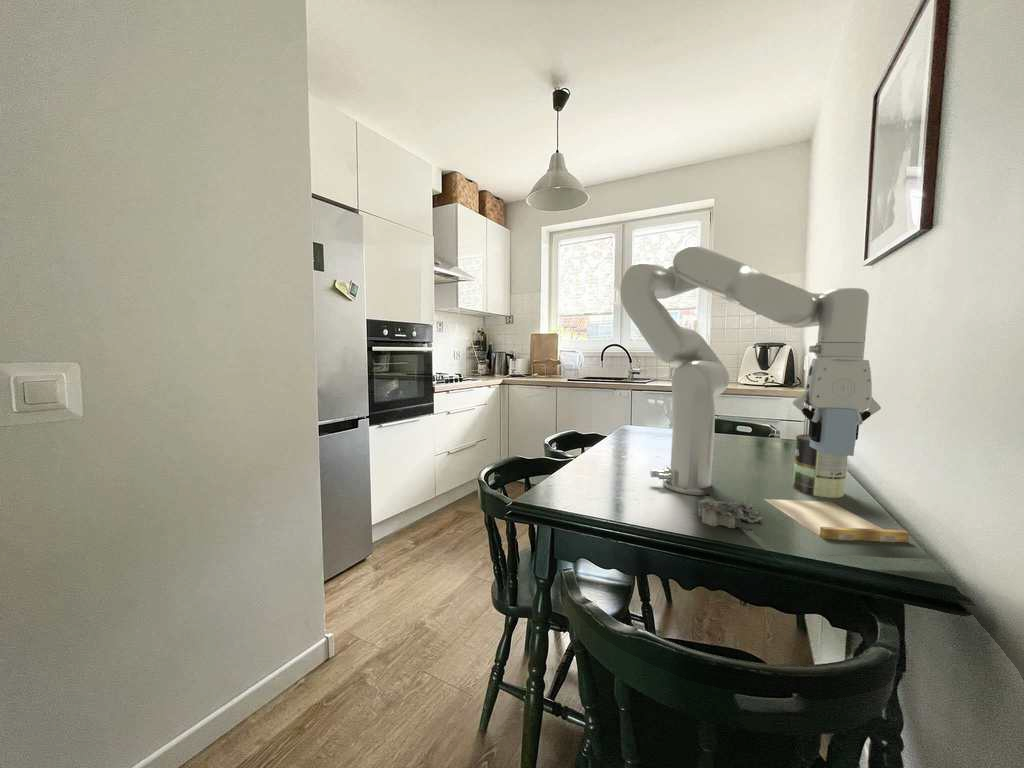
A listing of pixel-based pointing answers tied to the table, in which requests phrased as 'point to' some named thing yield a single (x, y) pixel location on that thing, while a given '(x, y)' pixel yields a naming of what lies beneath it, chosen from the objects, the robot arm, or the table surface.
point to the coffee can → (818, 470)
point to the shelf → (836, 521)
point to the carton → (837, 432)
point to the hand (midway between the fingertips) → (832, 441)
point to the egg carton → (726, 513)
